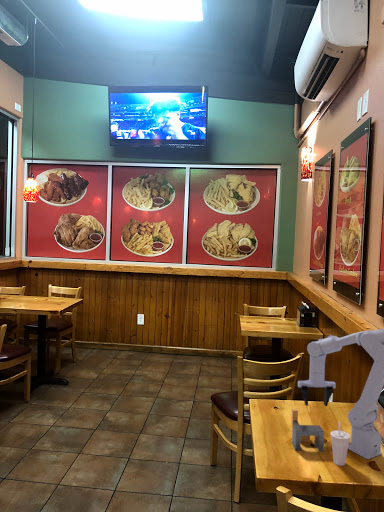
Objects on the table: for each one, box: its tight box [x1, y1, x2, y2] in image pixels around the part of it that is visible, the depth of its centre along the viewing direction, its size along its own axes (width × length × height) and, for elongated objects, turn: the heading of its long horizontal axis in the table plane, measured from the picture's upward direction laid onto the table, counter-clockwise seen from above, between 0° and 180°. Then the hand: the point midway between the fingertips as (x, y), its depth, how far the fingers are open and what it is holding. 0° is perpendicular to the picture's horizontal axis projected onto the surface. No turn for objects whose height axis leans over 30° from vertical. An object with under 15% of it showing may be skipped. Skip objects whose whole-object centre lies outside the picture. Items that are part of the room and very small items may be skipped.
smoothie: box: [329, 421, 351, 466], centre depth 137 cm, size 6×6×14 cm
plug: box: [291, 408, 311, 443], centre depth 159 cm, size 16×4×6 cm, turn 0°
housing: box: [291, 424, 325, 452], centre depth 147 cm, size 5×10×7 cm, turn 90°
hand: (315, 405), depth 162 cm, fingers open, 7 cm apart
